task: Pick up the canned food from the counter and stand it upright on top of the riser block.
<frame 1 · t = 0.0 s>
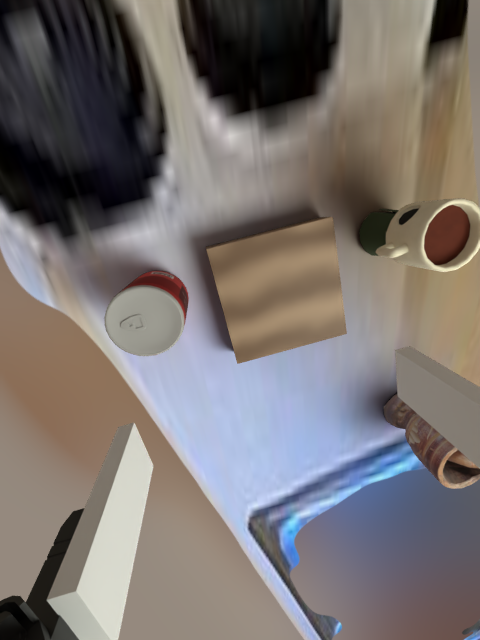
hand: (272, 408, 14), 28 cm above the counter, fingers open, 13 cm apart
canned food: (159, 297, 40), on the counter
character mug: (377, 232, 41), on the counter
walnut base: (274, 288, 41), on the counter
mortar and pestle: (410, 402, 51), on the counter
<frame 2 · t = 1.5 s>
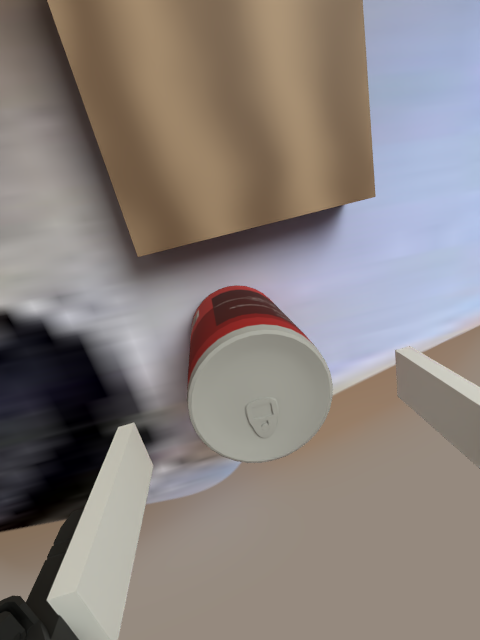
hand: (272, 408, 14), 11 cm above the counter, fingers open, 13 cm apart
canned food: (235, 327, 25), on the counter
walnut base: (223, 106, 20), on the counter
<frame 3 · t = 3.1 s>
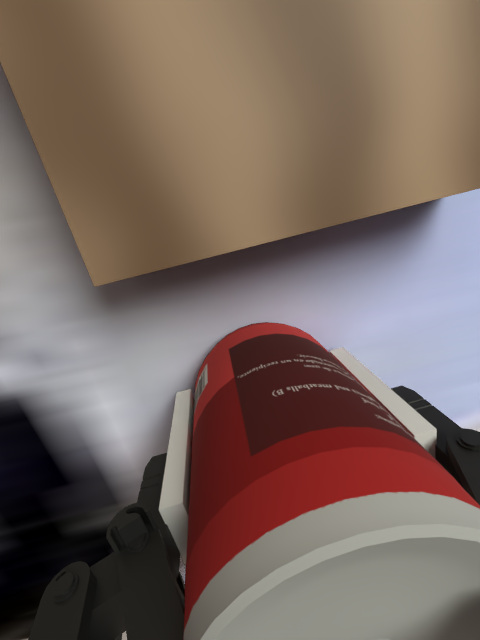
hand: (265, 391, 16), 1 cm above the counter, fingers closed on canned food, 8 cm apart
canned food: (262, 382, 16), on the counter, touching gripper
walnut base: (254, 13, 11), on the counter
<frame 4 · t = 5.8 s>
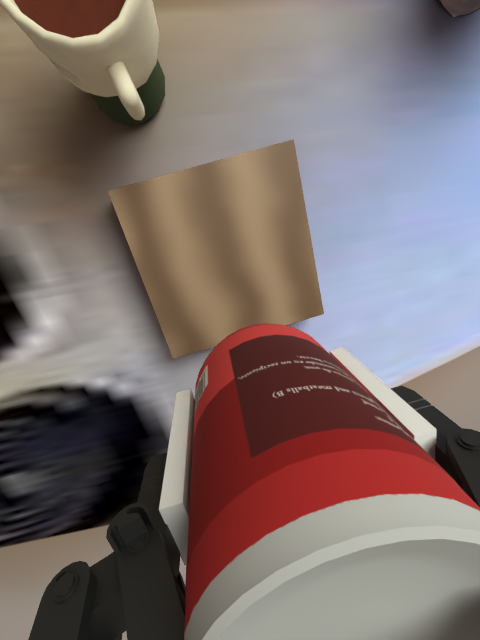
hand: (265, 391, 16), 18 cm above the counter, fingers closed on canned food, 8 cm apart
canned food: (262, 383, 16), point 17 cm above the counter, touching gripper
character mug: (129, 86, 25), on the counter
walnut base: (224, 255, 30), on the counter
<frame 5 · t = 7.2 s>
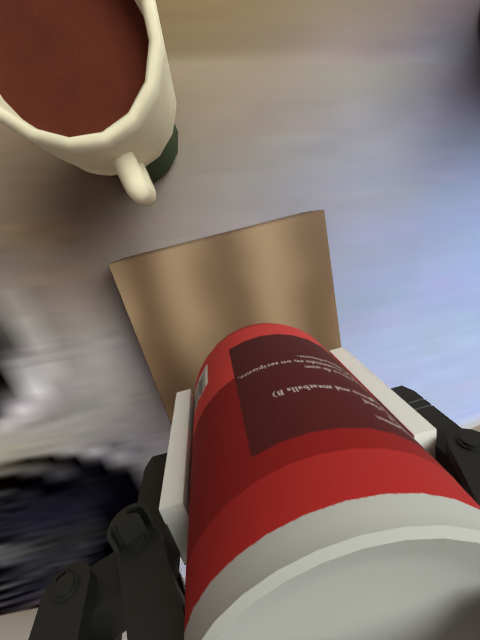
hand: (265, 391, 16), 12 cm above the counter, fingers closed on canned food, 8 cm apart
canned food: (262, 382, 16), point 11 cm above the counter, touching gripper
character mug: (137, 140, 22), on the counter
walnut base: (237, 320, 27), on the counter
when the fingers open (7 cm above the counter, at t = 8.6 s): canned food drops 2 cm, resting on walnut base.
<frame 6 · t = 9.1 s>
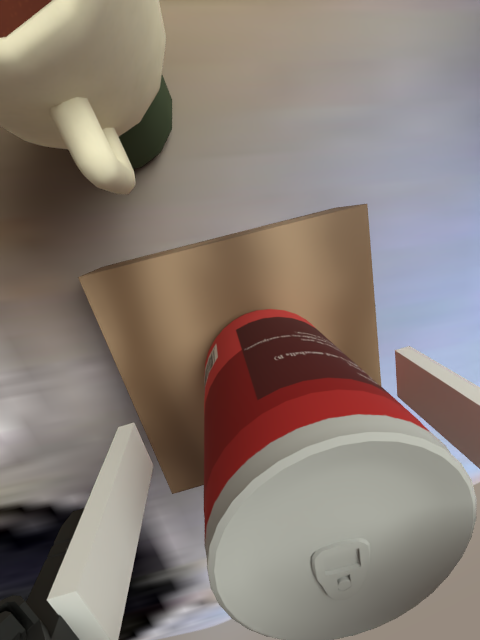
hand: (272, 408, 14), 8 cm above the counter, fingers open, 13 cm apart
canned food: (264, 364, 18), point 4 cm above the counter, touching walnut base
character mug: (118, 113, 16), on the counter
walnut base: (247, 343, 22), on the counter
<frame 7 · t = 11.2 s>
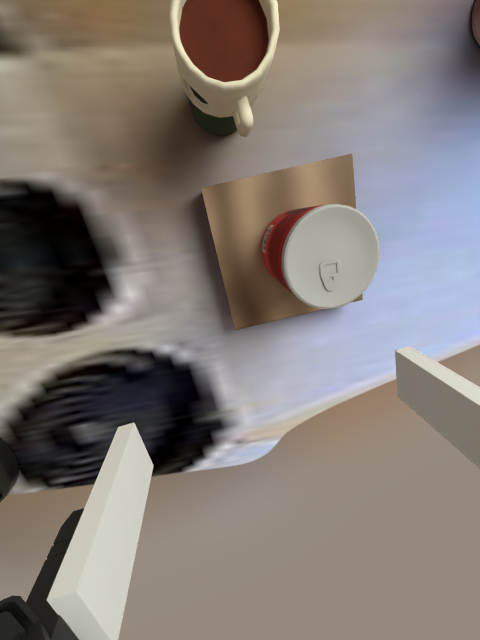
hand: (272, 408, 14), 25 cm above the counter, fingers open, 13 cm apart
canned food: (293, 247, 32), point 4 cm above the counter, touching walnut base
character mug: (219, 103, 31), on the counter
walnut base: (280, 246, 36), on the counter
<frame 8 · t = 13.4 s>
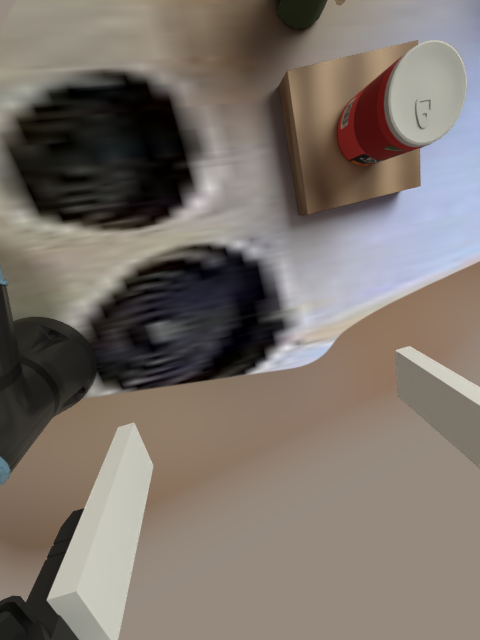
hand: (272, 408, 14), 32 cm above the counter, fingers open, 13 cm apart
canned food: (362, 132, 36), point 4 cm above the counter, touching walnut base
character mug: (297, 0, 34), on the counter
walnut base: (344, 141, 40), on the counter
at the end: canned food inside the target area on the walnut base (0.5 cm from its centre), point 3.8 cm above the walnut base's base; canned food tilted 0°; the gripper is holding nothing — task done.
